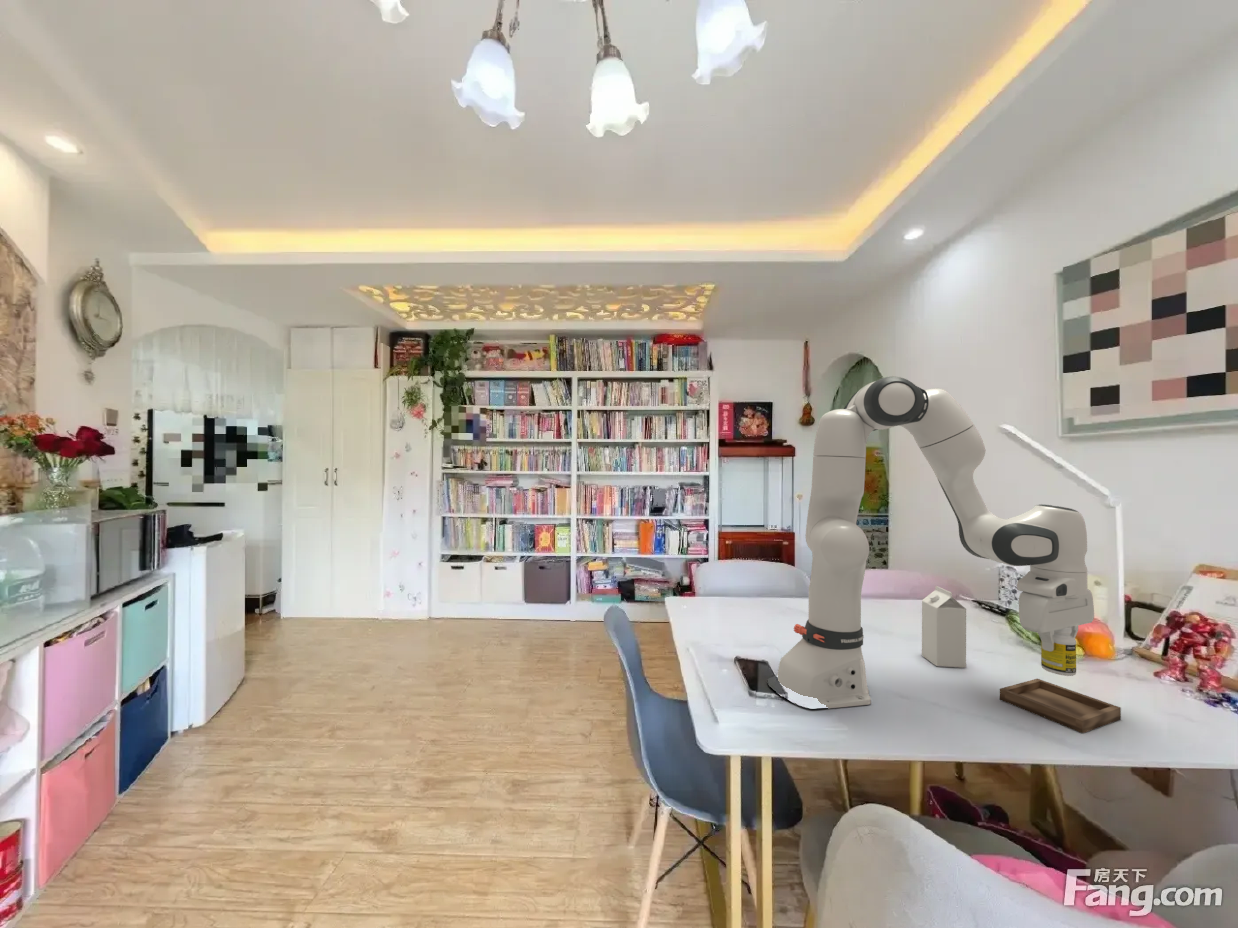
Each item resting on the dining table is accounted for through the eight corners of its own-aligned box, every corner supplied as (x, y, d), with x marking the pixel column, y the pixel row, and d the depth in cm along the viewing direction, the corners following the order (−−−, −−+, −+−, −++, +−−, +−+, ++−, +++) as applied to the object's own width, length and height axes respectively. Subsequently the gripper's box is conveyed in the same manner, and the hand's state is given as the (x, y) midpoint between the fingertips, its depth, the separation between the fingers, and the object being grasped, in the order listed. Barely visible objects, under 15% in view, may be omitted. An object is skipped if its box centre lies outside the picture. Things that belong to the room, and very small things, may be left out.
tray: (1082, 733, 89) (1082, 720, 89) (999, 699, 102) (999, 688, 102) (1120, 719, 95) (1120, 707, 95) (1037, 688, 108) (1037, 678, 108)
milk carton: (949, 657, 126) (949, 586, 126) (966, 668, 119) (966, 593, 119) (921, 655, 126) (921, 585, 127) (936, 666, 119) (936, 592, 119)
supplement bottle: (1070, 678, 95) (1069, 630, 95) (1036, 668, 100) (1035, 622, 100) (1081, 673, 97) (1080, 626, 98) (1048, 663, 102) (1047, 618, 102)
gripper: (1066, 574, 106) (1067, 636, 105) (1011, 582, 98) (1011, 649, 98) (1104, 581, 100) (1104, 646, 100) (1048, 590, 92) (1049, 660, 92)
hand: (1058, 647), depth 99 cm, fingers closed on supplement bottle, 5 cm apart
